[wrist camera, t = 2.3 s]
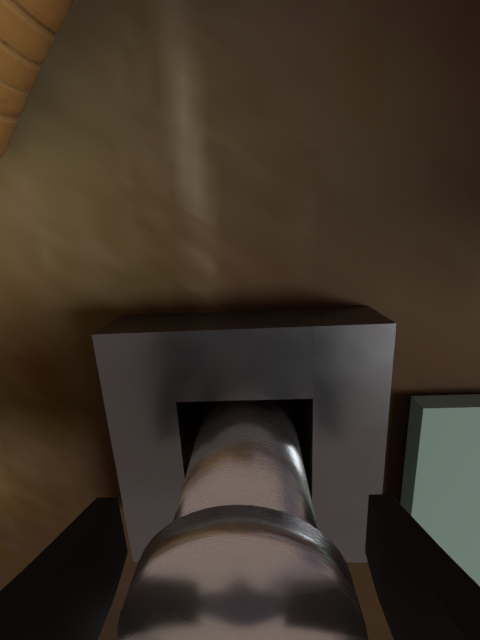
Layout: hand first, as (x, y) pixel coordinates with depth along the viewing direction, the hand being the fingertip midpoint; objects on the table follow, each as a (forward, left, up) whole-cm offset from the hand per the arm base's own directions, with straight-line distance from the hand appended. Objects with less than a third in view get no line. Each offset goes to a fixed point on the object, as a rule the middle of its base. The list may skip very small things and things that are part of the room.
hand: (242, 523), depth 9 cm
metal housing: (0, 0, -5) cm, 5 cm away
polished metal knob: (0, 0, -5) cm, 5 cm away
